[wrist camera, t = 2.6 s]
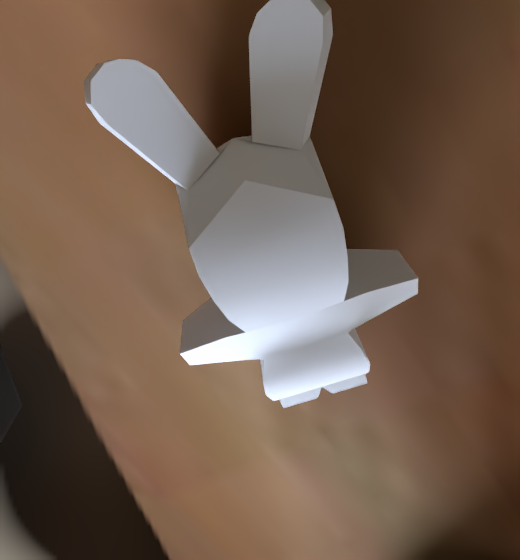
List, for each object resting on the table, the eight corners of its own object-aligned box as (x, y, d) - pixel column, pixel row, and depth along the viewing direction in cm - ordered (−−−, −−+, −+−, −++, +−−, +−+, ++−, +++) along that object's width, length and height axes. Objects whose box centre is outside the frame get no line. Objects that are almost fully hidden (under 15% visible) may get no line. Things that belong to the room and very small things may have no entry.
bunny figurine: (225, 456, 19) (11, 103, 11) (222, 371, 24) (66, 72, 16) (446, 392, 18) (383, -41, 10) (401, 315, 23) (333, -32, 15)
